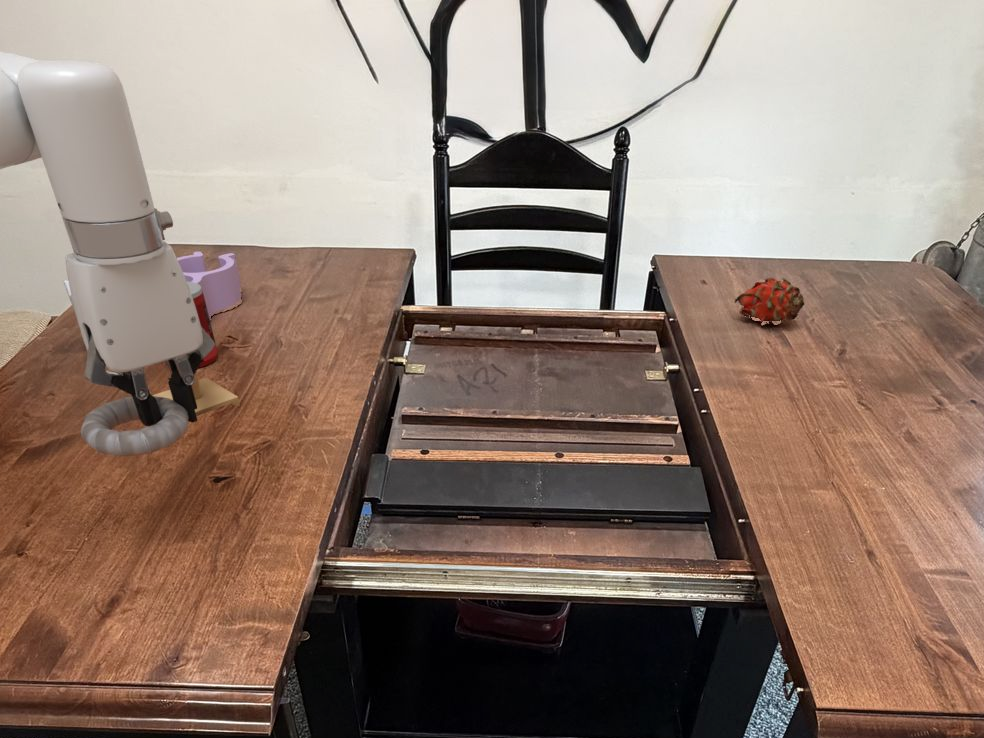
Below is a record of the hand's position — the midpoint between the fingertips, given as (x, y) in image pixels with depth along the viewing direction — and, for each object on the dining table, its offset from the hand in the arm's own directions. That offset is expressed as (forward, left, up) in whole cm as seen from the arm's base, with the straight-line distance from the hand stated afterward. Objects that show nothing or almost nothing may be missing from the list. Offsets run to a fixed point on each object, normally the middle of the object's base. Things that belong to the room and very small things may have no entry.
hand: (171, 421), depth 75 cm
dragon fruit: (+103, -18, -12) cm, 106 cm away
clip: (+34, +60, -12) cm, 70 cm away
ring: (-4, 0, +1) cm, 4 cm away
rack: (+13, +25, -12) cm, 30 cm away
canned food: (+21, +40, -12) cm, 47 cm away
